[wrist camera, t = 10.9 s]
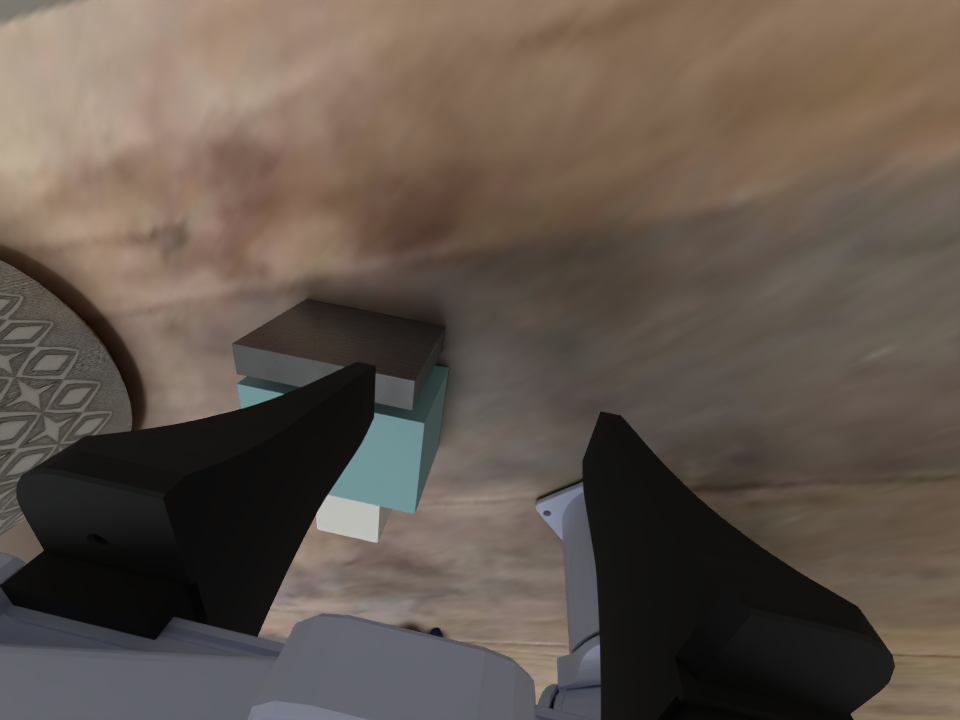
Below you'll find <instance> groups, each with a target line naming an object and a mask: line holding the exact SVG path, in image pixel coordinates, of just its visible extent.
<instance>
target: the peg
mask: <svg viewBox="0 0 960 720" xmlns="http://www.w3.org/2000/svg"><path fill="white" fill-rule="evenodd" d="M391 510H392V509H390V508H385V507H381V506H376V505H372V504H367V503H363V502H358V501H354V500H349V499H345V498H340V497H336V496H331V495H327V497H326V498H325V500H324V502H323V503H322V505H321V507H320V508H319V510H318V512H317V514H316V518H317V529H318V530H323V531H327V532H331V533H336V534H340V535H345V536H349V537H353V538H358V539H362V540H367V541H371V542H375V543H378V541H379V539H380V536H381V534H382V531H383V529H384V527H385V524H386V522H387V519H388V517H389V515H390V512H391Z"/></svg>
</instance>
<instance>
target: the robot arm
mask: <svg viewBox="0 0 960 720" xmlns="http://www.w3.org/2000/svg"><path fill="white" fill-rule="evenodd" d="M375 379H376V365H371V364H366V363H361V362H356V363H353V364H351V365H348V366H346V367H344V368H342V369H340V370H337V371H335V372H333V373H331V374H329V375H327V376H325V377H323V378H320V379H318V380H316V381H314V382H312V383H309V384H307V385H305V386H303V387H300V388H298V389H295V390H293V391H290V392H288V393H285V394H283V395H281V396H278V397H276V398H273V399H270V400H267V401H264V402H261V403H258V404H255V405H252V406H249V407H246V408H243V409H239V410H236V411H232V412H228V413H224V414H220V415H216V416H212V417H208V418H203V419H199V420H195V421H190V422H185V423H179V424H174V425H168V426H162V427H156V428H150V429H143V430H135V431H127V432H118V433H109V434H101V435H91V436H85V437H83V438H81V439H79V440H78V441H76V442H75V443H73V444H71V445H70V446H68V447H66V448H65V449H63V450H62V451H60V452H58V453H57V454H55V455H54V456H52V457H50V458H49V459H47V460H45V461H44V462H42V463H41V464H39V465H37V466H36V467H34V468H33V469H31V470H29V471H28V472H26V473H24V474H23V475H21V477H20V479H19V481H18V483H17V486H16V498H17V501H18V503H19V506H20V508H21V511H22V512H23V514H24V516H25V518H26V519H27V521H28V523H29V525H30V526H31V528H32V530H33V532H34V533H35V535H36V537H37V539H38V540H39V542H40V544H41V546H42V547H43V549H44V551H43V552H42V553H41V554H39V555H38V556H37V557H35V558H34V559H33V560H32V561H30V562H29V563H28V564H26V563H25V562H24V561H22V560H21V559H19V558H18V557H15V556H13V555H10V554H7V553H2V552H0V720H853V718H852V716H851V715H850V714H851V713H852V712H853V711H855V710H856V709H857V708H859V707H860V706H861V705H863V704H864V703H865V702H867V701H868V700H869V699H871V698H872V697H873V696H875V695H876V694H877V693H878V692H880V691H881V690H882V689H883V688H884V687H885V686H886V685H887V684H888V683H889V681H890V679H891V676H892V673H893V670H894V668H895V665H894V660H893V656H892V654H891V653H890V651H889V650H888V648H887V647H886V646H885V644H884V643H883V641H882V640H881V638H880V637H879V636H878V634H877V633H876V631H875V630H874V629H873V627H872V626H871V624H870V623H869V621H868V620H867V619H866V617H865V616H864V614H863V613H862V612H861V610H860V609H859V608H858V607H857V606H856V605H854V604H852V603H851V602H849V601H847V600H845V599H844V598H842V597H840V596H839V595H837V594H835V593H833V592H832V591H830V590H828V589H827V588H825V587H823V586H821V585H820V584H818V583H816V582H815V581H813V580H811V579H809V578H808V577H806V576H804V575H803V574H801V573H800V572H798V571H796V570H795V569H793V568H792V567H790V566H789V565H787V564H786V563H784V562H783V561H781V560H780V559H778V558H777V557H775V556H774V555H772V554H770V553H769V552H768V551H766V550H765V549H763V548H762V547H760V546H759V545H758V544H756V543H755V542H753V541H752V540H750V539H749V538H748V537H746V536H745V535H744V534H742V533H741V532H740V531H738V530H737V529H736V528H735V527H733V526H732V525H731V524H729V523H728V522H727V521H725V520H724V519H723V518H722V517H720V516H719V515H718V514H717V513H715V512H714V511H713V510H712V509H711V508H710V507H708V506H707V505H706V504H705V503H704V502H703V501H702V500H700V499H699V498H698V497H697V496H696V495H695V494H694V493H693V492H691V491H690V490H689V489H688V488H687V487H686V486H685V485H684V484H683V483H682V482H681V481H680V480H679V479H678V478H677V477H676V476H675V475H674V474H673V473H672V472H671V471H670V470H669V469H668V468H667V467H666V466H665V465H664V464H663V463H662V462H661V460H660V459H659V458H658V457H657V456H656V455H655V454H654V453H653V452H652V450H651V449H650V448H649V447H648V446H647V445H646V444H645V443H644V441H643V440H642V439H641V438H640V437H639V436H638V434H637V433H636V432H635V431H634V430H633V429H632V427H631V426H630V425H629V424H628V423H627V422H626V421H625V420H624V419H623V418H622V417H621V416H620V415H616V414H611V413H606V412H600V415H599V418H598V420H597V423H596V426H595V428H594V431H593V434H592V437H591V439H590V442H589V445H588V448H587V450H586V453H585V456H584V459H583V482H581V483H579V484H576V485H574V486H571V487H569V488H566V489H564V490H561V491H559V492H556V493H554V494H552V495H549V496H547V497H544V498H542V499H539V500H538V501H537V502H536V510H537V512H538V513H539V514H540V515H541V516H542V517H543V519H544V520H545V521H546V522H547V523H548V525H549V526H550V527H551V528H552V529H553V530H554V532H555V533H556V534H557V535H558V536H559V538H560V539H561V540H562V541H563V551H564V567H565V584H566V601H567V617H568V634H569V651H570V654H569V655H567V656H563V657H559V658H557V670H558V684H552V685H550V686H548V687H546V688H545V690H544V691H543V693H542V695H541V697H540V699H539V702H538V705H535V687H534V680H533V679H532V678H531V677H530V675H529V674H528V673H527V672H526V671H525V670H524V669H523V668H522V667H520V666H519V665H518V664H517V663H516V662H515V661H514V660H513V659H512V658H510V657H507V656H505V655H502V654H500V653H497V652H495V651H492V650H490V649H487V648H485V647H481V646H477V645H472V644H468V643H464V642H460V641H455V640H451V639H447V638H443V637H439V636H434V635H430V634H426V633H422V632H418V631H413V630H409V629H405V628H401V627H396V626H392V625H388V624H384V623H380V622H375V621H371V620H367V619H363V618H359V617H354V616H350V615H338V614H326V613H322V614H319V615H317V616H314V617H311V618H309V619H306V620H303V621H301V622H298V623H296V624H295V626H294V628H293V630H292V632H291V634H290V636H289V637H288V639H287V641H286V643H285V644H284V643H280V642H276V641H271V640H267V639H263V638H259V637H257V636H258V634H259V632H260V630H261V627H262V625H263V623H264V621H265V618H266V616H267V614H268V611H269V609H270V607H271V605H272V603H273V601H274V598H275V596H276V594H277V592H278V590H279V588H280V586H281V583H282V581H283V579H284V577H285V575H286V573H287V571H288V569H289V567H290V565H291V563H292V561H293V559H294V557H295V555H296V553H297V551H298V549H299V546H300V544H301V542H302V540H303V538H304V537H305V535H306V533H307V531H308V529H309V527H310V525H311V523H312V521H313V519H314V517H315V516H316V514H317V512H318V510H319V508H320V507H321V505H322V503H323V502H324V500H325V498H326V497H327V495H328V494H329V492H330V491H331V489H332V488H333V486H334V485H335V483H336V482H337V480H338V479H339V477H340V476H341V474H342V473H343V471H344V470H345V468H346V467H347V465H348V464H349V462H350V461H351V459H352V458H353V456H354V455H355V453H356V452H357V450H358V449H359V447H360V445H361V444H362V442H363V440H364V438H365V436H366V434H367V432H368V430H369V428H370V426H371V423H372V421H373V419H374V410H375ZM547 511H548V512H547Z"/></svg>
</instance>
